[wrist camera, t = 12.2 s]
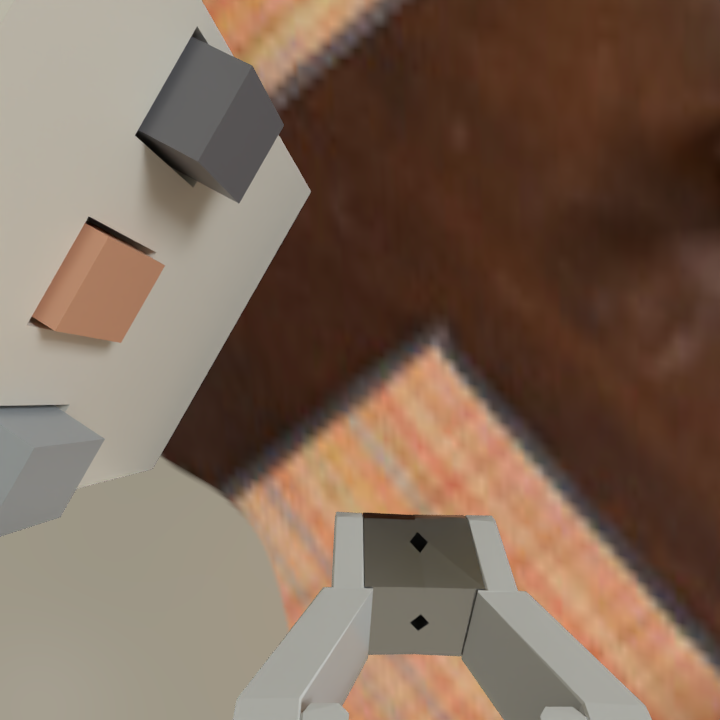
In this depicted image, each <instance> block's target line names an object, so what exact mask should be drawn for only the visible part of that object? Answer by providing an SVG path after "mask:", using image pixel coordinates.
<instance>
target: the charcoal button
mask: <svg viewBox="0 0 720 720" xmlns="http://www.w3.org/2000/svg"><path fill="white" fill-rule="evenodd" d="M283 126H284V124H283V122H282V121H281V119H280V117H279V115H278V113H277V111H276V109H275V107H274V106H273V104H272V102H271V100H270V98H269V96H268V94H267V92H266V91H265V89H264V87H263V85H262V83H261V81H260V79H259V77H258V75H257V74H256V72H255V70H254V68H253V66H252V65H250V64H248V63H245V62H243V61H241V60H239V59H237V58H235V57H233V56H231V55H229V54H227V53H225V52H223V51H221V50H219V49H217V48H214V47H212V46H210V45H208V44H206V43H204V42H202V41H200V40H198V39H196V38H194V37H192V36H191V38H190V40H189V41H188V43H187V45H186V47H185V48H184V50H183V52H182V54H181V55H180V57H179V59H178V61H177V62H176V64H175V66H174V68H173V69H172V71H171V73H170V75H169V76H168V78H167V80H166V82H165V83H164V85H163V87H162V89H161V90H160V92H159V94H158V96H157V98H156V99H155V101H154V103H153V105H152V106H151V108H150V110H149V112H148V113H147V115H146V117H145V119H144V120H143V122H142V124H141V126H140V127H139V129H138V131H137V133H136V134H135V136H136V137H137V138H138V139H139V140H140V141H142V142H143V143H144V144H145V145H146V146H147V147H148V148H149V149H151V150H152V151H153V152H154V153H155V154H156V155H157V156H158V157H160V158H161V159H162V160H163V161H164V162H165V163H166V164H167V165H168V166H170V167H172V168H174V169H176V170H177V171H179V172H181V173H183V174H185V175H187V176H189V177H190V178H192V179H194V180H196V181H198V182H200V183H202V184H203V185H205V186H207V187H209V188H211V189H213V190H215V191H216V192H218V193H220V194H222V195H224V196H226V197H228V198H229V199H231V200H233V201H235V202H237V203H240V201H241V200H242V198H243V196H244V194H245V193H246V191H247V189H248V187H249V186H250V184H251V182H252V180H253V179H254V177H255V175H256V173H257V172H258V170H259V168H260V166H261V165H262V163H263V161H264V159H265V158H266V156H267V154H268V152H269V151H270V149H271V147H272V145H273V144H274V142H275V140H276V138H277V137H278V135H279V133H280V131H281V130H282V128H283Z"/></svg>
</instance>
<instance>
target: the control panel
mask: <svg viewBox="0 0 720 720" xmlns="http://www.w3.org/2000/svg"><path fill="white" fill-rule="evenodd" d="M191 36H192V37H194V38H196V39H198V40H200V41H202V42H204V43H206V44H208V45H210V46H212V47H214V48H217V49H219V50H221V51H223V52H225V53H227V54H229V55H231V56H233V54H232V53H231V51H230V49H229V47H228V46H227V44H226V42H225V40H224V39H223V37H222V35H221V33H220V32H219V30H218V28H217V26H216V25H215V23H214V21H213V19H212V18H211V16H210V14H209V12H208V11H207V9H206V7H205V5H204V4H203V2H202V0H0V406H17V405H54V406H56V407H57V408H59V409H60V410H62V411H63V412H65V413H66V414H68V415H69V416H71V417H72V418H74V419H75V420H77V421H78V422H80V423H82V424H83V425H85V426H86V427H88V428H89V429H91V430H92V431H94V432H95V433H97V434H98V435H100V436H101V437H103V438H104V439H105V440H104V441H103V443H102V445H101V447H100V448H99V450H98V452H97V454H96V455H95V457H94V459H93V461H92V462H91V464H90V466H89V468H88V469H87V471H86V473H85V475H84V476H83V478H82V480H81V482H80V483H79V485H78V487H77V489H78V488H81V487H85V486H89V485H93V484H97V483H101V482H105V481H108V480H113V479H117V478H120V477H124V476H128V475H132V474H136V473H140V472H144V471H148V470H151V469H153V467H154V466H155V464H156V462H157V460H158V459H159V457H160V455H161V453H162V452H163V450H164V448H165V446H166V445H167V443H168V441H169V439H170V438H171V436H172V434H173V432H174V431H175V429H176V427H177V425H178V424H179V422H180V420H181V418H182V417H183V415H184V413H185V411H186V410H187V408H188V406H189V404H190V403H191V401H192V399H193V397H194V396H195V394H196V392H197V390H198V389H199V387H200V385H201V383H202V382H203V380H204V378H205V376H206V375H207V373H208V371H209V369H210V368H211V366H212V364H213V362H214V361H215V359H216V357H217V355H218V354H219V352H220V350H221V348H222V347H223V345H224V343H225V341H226V340H227V338H228V336H229V334H230V333H231V331H232V329H233V327H234V326H235V324H236V322H237V320H238V319H239V317H240V315H241V313H242V312H243V310H244V308H245V306H246V305H247V303H248V301H249V299H250V298H251V296H252V294H253V292H254V291H255V289H256V287H257V285H258V284H259V282H260V280H261V278H262V277H263V275H264V273H265V271H266V270H267V268H268V266H269V264H270V263H271V261H272V259H273V257H274V256H275V254H276V252H277V250H278V249H279V247H280V245H281V243H282V242H283V240H284V238H285V236H286V235H287V233H288V231H289V229H290V228H291V226H292V224H293V222H294V221H295V219H296V217H297V215H298V214H299V212H300V210H301V208H302V207H303V205H304V203H305V201H306V200H307V198H308V196H309V194H310V193H311V191H310V189H309V187H308V185H307V184H306V182H305V180H304V178H303V177H302V175H301V173H300V171H299V170H298V168H297V166H296V164H295V163H294V161H293V159H292V157H291V156H290V154H289V152H288V150H287V149H286V147H285V145H284V144H283V142H282V140H281V138H280V137H279V135H278V137H277V138H276V140H275V142H274V144H273V145H272V147H271V149H270V151H269V152H268V154H267V156H266V158H265V159H264V161H263V163H262V165H261V166H260V168H259V170H258V172H257V173H256V175H255V177H254V179H253V180H252V182H251V184H250V186H249V187H248V189H247V191H246V193H245V194H244V196H243V198H242V200H241V201H240V203H237V202H235V201H233V200H231V199H229V198H228V197H226V196H224V195H222V194H220V193H218V192H216V191H215V190H213V189H211V188H209V187H207V186H205V185H203V184H202V183H200V182H198V181H196V180H194V179H192V178H190V177H189V176H187V175H185V174H183V173H181V172H179V171H177V170H176V169H174V168H172V167H170V166H168V165H167V164H166V163H165V162H164V161H163V160H162V159H161V158H160V157H158V156H157V155H156V154H155V153H154V152H153V151H152V150H151V149H149V148H148V147H147V146H146V145H145V144H144V143H143V142H142V141H140V140H139V139H138V138H137V137H136V136H135V134H136V133H137V131H138V129H139V127H140V126H141V124H142V122H143V120H144V119H145V117H146V115H147V113H148V112H149V110H150V108H151V106H152V105H153V103H154V101H155V99H156V98H157V96H158V94H159V92H160V90H161V89H162V87H163V85H164V83H165V82H166V80H167V78H168V76H169V75H170V73H171V71H172V69H173V68H174V66H175V64H176V62H177V61H178V59H179V57H180V55H181V54H182V52H183V50H184V48H185V47H186V45H187V43H188V41H189V40H190V38H191ZM233 57H234V56H233ZM86 220H87V221H89V222H91V223H93V224H94V225H96V226H98V227H100V228H102V229H103V230H105V231H107V232H108V233H110V234H112V235H114V236H115V237H117V238H119V239H121V240H122V241H124V242H126V243H127V244H129V245H131V246H133V247H134V248H136V249H138V250H140V251H141V252H143V253H145V254H146V255H148V256H150V257H152V258H153V259H155V260H157V261H159V262H160V263H162V264H164V265H165V267H164V268H163V270H162V272H161V274H160V275H159V277H158V279H157V281H156V282H155V284H154V286H153V288H152V290H151V291H150V293H149V295H148V297H147V298H146V300H145V302H144V304H143V305H142V307H141V309H140V311H139V312H138V314H137V316H136V318H135V319H134V321H133V323H132V325H131V326H130V328H129V330H128V332H127V333H126V335H125V337H124V339H123V340H122V342H121V343H119V342H113V341H108V340H102V339H96V338H91V337H85V336H80V335H74V334H69V333H63V332H57V331H54V330H53V329H51V328H49V327H48V326H46V325H45V324H43V323H41V322H40V321H38V320H37V319H35V318H34V317H32V315H33V313H34V312H35V310H36V308H37V306H38V305H39V303H40V301H41V299H42V297H43V296H44V294H45V292H46V290H47V289H48V287H49V285H50V283H51V282H52V280H53V278H54V276H55V275H56V273H57V271H58V269H59V268H60V266H61V264H62V262H63V261H64V259H65V257H66V255H67V254H68V252H69V250H70V248H71V247H72V245H73V243H74V241H75V240H76V238H77V236H78V234H79V233H80V231H81V229H82V227H83V226H84V224H85V222H86Z"/></svg>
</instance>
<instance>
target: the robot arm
mask: <svg viewBox="0 0 720 720" xmlns="http://www.w3.org/2000/svg"><path fill="white" fill-rule="evenodd" d="M379 654H423V655H445V656H462V660H463V662H464V663H465V665H466V666H467V667H468V669H469V670H470V672H471V673H472V675H473V676H474V677H475V679H476V680H477V682H478V683H479V685H480V686H481V688H482V689H483V690H484V692H485V693H486V695H487V696H488V698H489V699H490V700H491V702H492V703H493V705H494V706H495V708H496V709H497V711H498V712H499V713H500V715H501V716H502V718H503V719H504V720H652V719H651V717H650V714H649V712H648V710H647V708H646V706H645V705H644V704H643V703H642V702H641V701H640V700H639V699H638V698H637V697H636V696H635V695H634V694H633V693H632V692H631V691H629V690H628V689H627V688H626V687H625V686H624V685H623V684H622V683H621V682H620V681H619V680H618V679H617V678H616V677H615V676H614V675H613V674H612V673H611V672H610V671H609V670H608V669H607V668H605V667H604V666H603V665H602V664H601V663H600V662H599V661H598V660H597V659H596V658H595V657H594V656H593V655H592V654H591V653H590V652H589V651H588V650H587V649H586V648H585V647H584V646H583V645H581V644H580V643H579V642H578V641H577V640H576V639H575V638H574V637H573V636H572V635H571V634H570V633H569V632H568V631H567V630H566V629H565V628H564V627H563V626H562V625H561V624H560V623H559V622H558V621H556V620H555V619H554V618H553V617H552V616H551V615H550V614H549V613H548V612H547V611H546V610H545V609H544V608H543V607H542V606H541V605H540V604H539V603H538V602H537V601H536V600H535V599H534V598H532V597H531V596H530V595H529V594H528V593H527V592H526V591H518V590H517V587H516V584H515V580H514V577H513V574H512V571H511V568H510V565H509V562H508V559H507V556H506V552H505V549H504V546H503V543H502V540H501V537H500V534H499V531H498V528H497V525H496V521H495V519H494V518H493V517H492V516H473V515H466V516H464V515H400V514H380V513H363V515H362V513H349V512H336V516H335V528H334V549H333V569H332V587H323V589H322V590H321V591H320V592H319V594H318V595H317V596H316V598H315V599H314V600H313V601H312V603H311V604H310V605H309V607H308V608H307V609H306V610H305V612H304V613H303V614H302V616H301V617H300V618H299V619H298V621H297V622H296V623H295V625H294V626H293V627H292V628H291V630H290V631H289V632H288V634H287V635H286V636H285V638H284V639H283V640H282V641H281V643H280V644H279V646H278V647H277V648H276V649H275V650H274V652H273V653H272V654H271V656H270V657H269V658H268V660H267V661H266V662H265V663H264V665H263V666H262V667H261V668H260V670H259V671H258V672H257V674H256V675H255V676H254V677H253V679H252V680H251V681H250V683H249V684H248V686H246V688H245V689H244V691H243V692H242V693H241V694H240V696H239V697H238V698H237V702H236V706H235V711H234V716H233V720H349V713H348V712H347V711H346V710H345V709H344V708H343V707H342V705H343V704H344V702H345V700H346V698H347V696H348V694H349V692H350V690H351V689H352V687H353V685H354V683H355V681H356V679H357V677H358V675H359V674H360V672H361V670H362V668H363V666H364V664H365V662H366V661H367V659H368V655H379Z"/></svg>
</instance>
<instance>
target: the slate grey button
mask: <svg viewBox="0 0 720 720" xmlns="http://www.w3.org/2000/svg"><path fill="white" fill-rule="evenodd" d="M104 440H105V439H104V438H103V437H101V436H100V435H98V434H97V433H95V432H94V431H92V430H91V429H89V428H88V427H86V426H85V425H83V424H82V423H80V422H78V421H77V420H75V419H74V418H72V417H71V416H69V415H68V414H66V413H65V412H63V411H62V410H60V409H59V408H57V407H56V406H54V405H17V406H0V537H1V536H4V535H7V534H10V533H13V532H16V531H19V530H22V529H25V528H28V527H32V526H35V525H38V524H41V523H44V522H47V521H50V520H53V519H56V518H59V517H61V515H62V513H63V511H64V510H65V508H66V506H67V504H68V503H69V501H70V499H71V497H72V496H73V494H74V492H75V490H76V489H77V487H78V485H79V483H80V482H81V480H82V478H83V476H84V475H85V473H86V471H87V469H88V468H89V466H90V464H91V462H92V461H93V459H94V457H95V455H96V454H97V452H98V450H99V448H100V447H101V445H102V443H103V441H104Z"/></svg>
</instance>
